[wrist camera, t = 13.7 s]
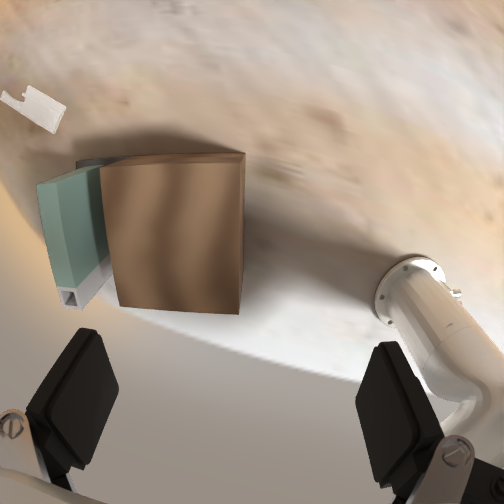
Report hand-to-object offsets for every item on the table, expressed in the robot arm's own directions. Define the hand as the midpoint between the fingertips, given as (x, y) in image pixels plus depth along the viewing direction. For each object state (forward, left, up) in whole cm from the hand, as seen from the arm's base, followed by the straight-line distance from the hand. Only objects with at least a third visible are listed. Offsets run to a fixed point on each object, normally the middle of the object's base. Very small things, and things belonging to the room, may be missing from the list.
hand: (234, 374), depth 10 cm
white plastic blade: (+33, -14, -31) cm, 48 cm away
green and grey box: (+21, +4, -29) cm, 36 cm away
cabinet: (+13, +4, -30) cm, 33 cm away
